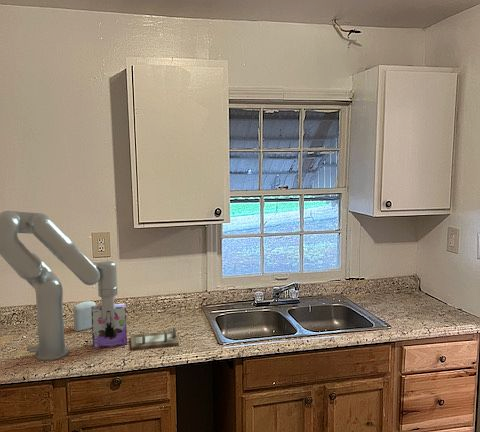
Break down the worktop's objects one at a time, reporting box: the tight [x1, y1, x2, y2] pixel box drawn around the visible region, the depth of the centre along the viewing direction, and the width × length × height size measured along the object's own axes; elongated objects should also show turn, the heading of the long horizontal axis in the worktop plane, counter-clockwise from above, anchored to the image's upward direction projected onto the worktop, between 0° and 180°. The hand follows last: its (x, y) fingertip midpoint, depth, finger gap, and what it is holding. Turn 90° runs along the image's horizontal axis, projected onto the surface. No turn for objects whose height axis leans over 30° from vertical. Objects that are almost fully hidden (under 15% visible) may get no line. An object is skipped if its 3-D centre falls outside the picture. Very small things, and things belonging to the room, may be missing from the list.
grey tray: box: [130, 326, 180, 351], centre depth 206 cm, size 19×14×5 cm
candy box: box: [91, 303, 128, 349], centre depth 203 cm, size 14×6×16 cm, turn 105°
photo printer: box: [72, 300, 97, 332], centre depth 222 cm, size 10×4×12 cm, turn 134°
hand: (109, 333), depth 203 cm, fingers closed on candy box, 5 cm apart
